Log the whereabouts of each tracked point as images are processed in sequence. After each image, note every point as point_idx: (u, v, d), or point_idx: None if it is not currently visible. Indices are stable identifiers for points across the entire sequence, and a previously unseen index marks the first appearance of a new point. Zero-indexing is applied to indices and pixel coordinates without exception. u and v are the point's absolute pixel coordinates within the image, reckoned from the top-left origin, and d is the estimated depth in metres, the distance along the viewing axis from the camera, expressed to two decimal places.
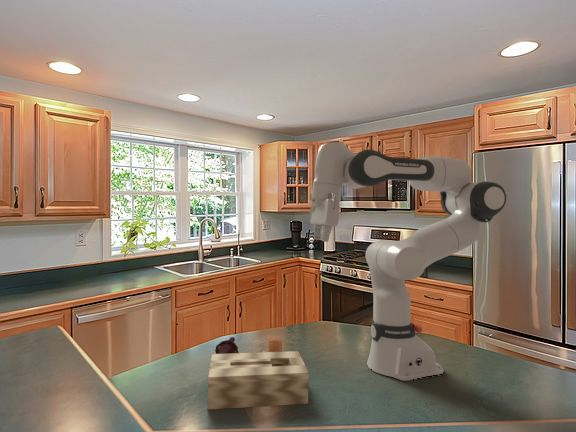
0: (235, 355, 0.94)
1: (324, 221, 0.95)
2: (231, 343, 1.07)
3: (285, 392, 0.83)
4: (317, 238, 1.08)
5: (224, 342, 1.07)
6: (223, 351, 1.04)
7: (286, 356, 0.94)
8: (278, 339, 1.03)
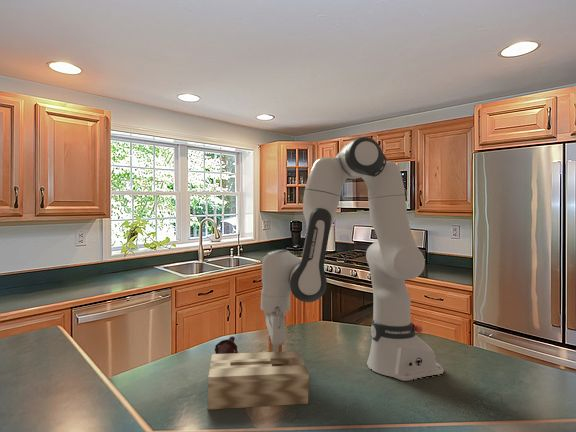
0: (235, 355, 0.94)
1: (271, 340, 0.96)
2: (230, 342, 1.08)
3: (285, 392, 0.83)
4: None
5: (223, 341, 1.08)
6: (222, 350, 1.04)
7: (286, 356, 0.94)
8: None
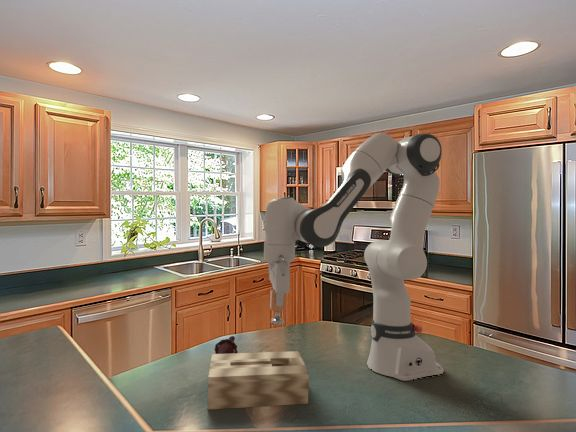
0: (235, 355, 0.94)
1: (275, 289, 0.89)
2: (230, 342, 1.08)
3: (285, 392, 0.83)
4: None
5: (223, 341, 1.08)
6: (221, 350, 1.05)
7: (286, 356, 0.94)
8: None
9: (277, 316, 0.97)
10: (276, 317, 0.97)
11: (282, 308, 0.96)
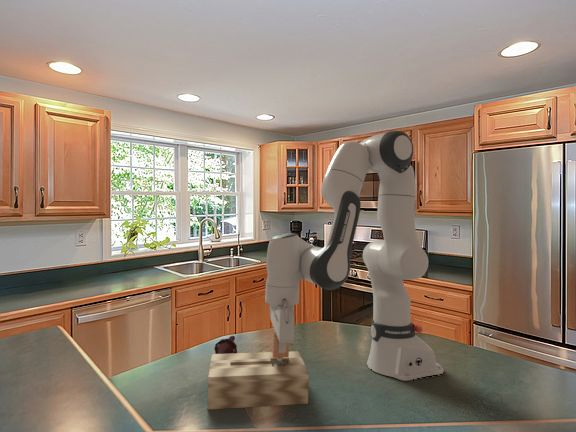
0: (235, 355, 0.94)
1: (278, 337, 0.82)
2: (230, 342, 1.09)
3: (285, 392, 0.83)
4: None
5: (223, 340, 1.09)
6: (221, 349, 1.05)
7: None
8: None
9: (279, 363, 0.89)
10: (278, 364, 0.90)
11: (285, 355, 0.88)
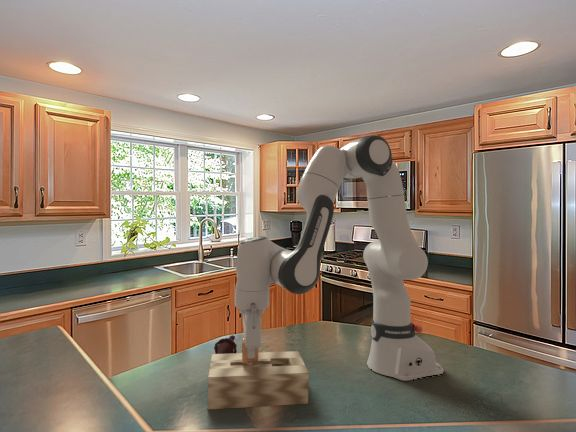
0: (235, 355, 0.94)
1: None
2: (230, 341, 1.09)
3: (285, 392, 0.83)
4: None
5: (223, 340, 1.09)
6: (220, 349, 1.05)
7: (286, 356, 0.94)
8: None
9: None
10: None
11: (254, 360, 0.87)
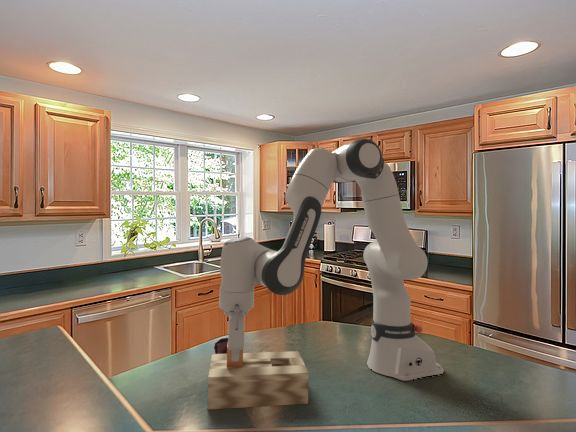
0: None
1: None
2: None
3: (285, 392, 0.83)
4: None
5: (223, 340, 1.10)
6: (220, 348, 1.06)
7: (286, 356, 0.94)
8: None
9: None
10: None
11: (239, 364, 0.87)
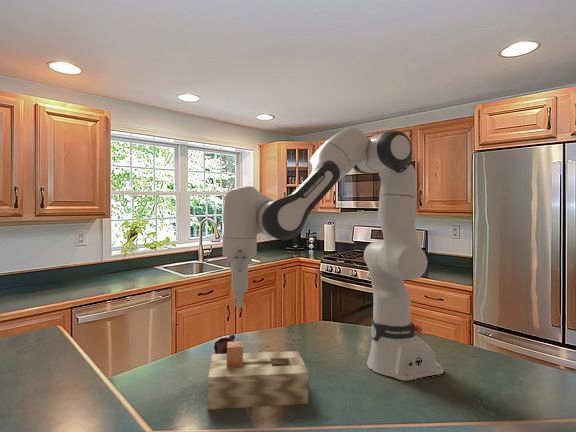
0: None
1: None
2: (229, 340, 1.10)
3: (285, 392, 0.83)
4: None
5: (222, 339, 1.10)
6: (220, 348, 1.06)
7: (286, 356, 0.94)
8: (238, 346, 0.87)
9: None
10: None
11: (239, 364, 0.87)
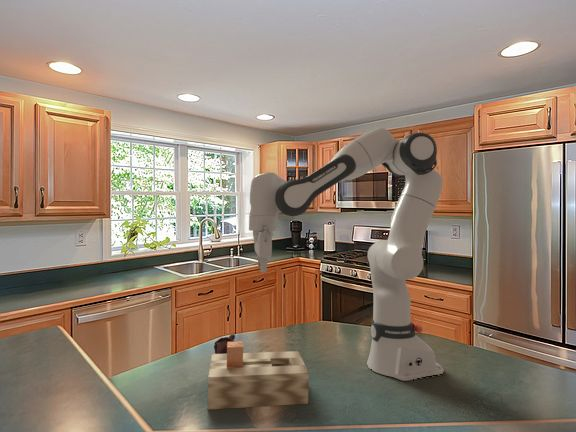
0: None
1: (258, 254, 0.98)
2: (229, 340, 1.10)
3: (285, 392, 0.83)
4: None
5: (222, 339, 1.10)
6: (219, 347, 1.07)
7: (286, 356, 0.94)
8: (238, 346, 0.87)
9: None
10: None
11: (239, 364, 0.87)
